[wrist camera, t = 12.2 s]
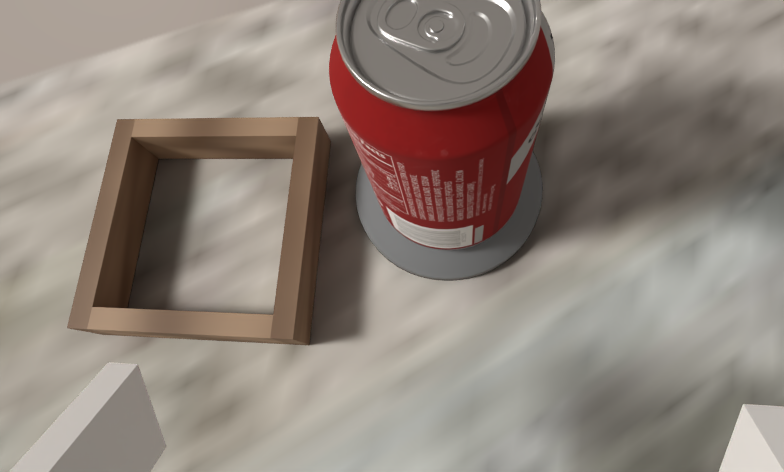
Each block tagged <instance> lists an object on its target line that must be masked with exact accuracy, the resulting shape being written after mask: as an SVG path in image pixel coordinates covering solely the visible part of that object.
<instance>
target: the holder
mask: <svg viewBox="0 0 784 472" xmlns="http://www.w3.org/2000/svg"><path fill="white" fill-rule="evenodd" d="M330 145H331V141H330V139H329V137H328V135H327V133H326V131H325V129H324V127H323V125H322V123H321V121H320V119H319V117H275V118H193V119H117V123H116V127H115V131H114V135H113V139H112V143H111V148H110V152H109V156H108V160H107V164H106V168H105V172H104V177H103V181H102V185H101V189H100V193H99V197H98V202H97V206H96V210H95V214H94V218H93V222H92V226H91V231H90V235H89V239H88V243H87V247H86V251H85V255H84V260H83V264H82V268H81V272H80V276H79V280H78V284H77V289H76V293H75V297H74V301H73V305H72V309H71V314H70V318H69V322H68V326H67V328H70V329H75V330H80V331H86V332H91V333H97V334H102V335H120V336H140V337H159V338H178V339H198V340H217V341H237V342H256V343H276V344H295V345H309V343H310V334H311V324H312V315H313V305H314V296H315V287H316V277H317V268H318V258H319V249H320V239H321V230H322V220H323V211H324V201H325V192H326V182H327V173H328V164H329V154H330ZM158 159H293V164H292V172H291V180H290V187H289V195H288V203H287V211H286V219H285V227H284V234H283V242H282V250H281V258H280V266H279V274H278V282H277V289H276V297H275V305H274V313H273V315H267V314H244V313H221V312H198V311H175V310H152V309H129V308H127V307H128V302H129V297H130V293H131V288H132V283H133V278H134V273H135V269H136V264H137V259H138V254H139V250H140V245H141V240H142V235H143V231H144V226H145V221H146V216H147V212H148V207H149V202H150V197H151V193H152V188H153V183H154V178H155V173H156V169H157V164H158Z"/></svg>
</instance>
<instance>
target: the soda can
mask: <svg viewBox="0 0 784 472" xmlns="http://www.w3.org/2000/svg"><path fill="white" fill-rule="evenodd" d="M554 64H555V48H554V42H553V37H552V33H551V30H550V27H549V25H548V22H547V20H546V18H545V16H544V14H543V12H542V11H541V4H540V0H341V1H340V4H339V7H338V12H337V17H336V36H335V39H334V42H333V45H332V49H331V54H330V62H329V76H330V84H331V88H332V93H333V96H334V99H335V101H336V104H337V106H338V109H339V111H340V113H341V116H342V118H343V120H344V123H345V125H346V127H347V130H348V132H349V134H350V137H351V139H352V141H353V144H354V146H355V148H356V151H357V153H358V155H359V158H360V160H361V162H362V165H363V167H364V169H365V172H366V174H367V176H368V179H369V181H370V183H371V186H372V188H373V190H374V193H375V195H376V197H377V200H378V202H379V204H380V207H381V209H382V211H383V213H384V215H385V217H386V218H387V220H388V221H389V223H390V224H391V225H392V226H393V228H394V229H395V230H396V231H397V232H399V233H400V234H401V235H402V236H404V237H405V238H406V239H408V240H410V241H411V242H413V243H415V244H418V245H420V246H423V247H426V248H430V249H435V250H446V251H450V250H460V249H465V248H469V247H472V246H475V245H478V244H480V243H482V242H484V241H486V240H488V239H489V238H491V237H492V236H494V235H495V234H496V233H497V232H499V231H500V230H501V229H502V228H503V227H504V226H505V224H506V223H507V222H508V221H509V219H510V218H511V216H512V215H513V213H514V211H515V209H516V207H517V204H518V201H519V198H520V195H521V191H522V187H523V184H524V180H525V176H526V173H527V169H528V165H529V162H530V158H531V155H532V151H533V147H534V144H535V140H536V136H537V133H538V129H539V125H540V122H541V118H542V115H543V111H544V107H545V104H546V100H547V96H548V93H549V89H550V85H551V82H552V77H553V72H554Z"/></svg>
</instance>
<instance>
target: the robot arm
mask: <svg viewBox="0 0 784 472" xmlns="http://www.w3.org/2000/svg"><path fill="white" fill-rule="evenodd" d="M165 448H166V444H165V441H164V438H163V435H162V432H161V429H160V426H159V423H158V421H157V418H156V415H155V412H154V409H153V406H152V403H151V400H150V398H149V395H148V392H147V389H146V386H145V383H144V380H143V377H142V375H141V372H140V369H139V366H138V364H127V363H112V362H108V363H107V364H106V365H105V366H104V367H103V369H102V370H101V371H100V372H99V373H98V374H97V375H96V376H95V377H94V378H93V380H92V381H91V382H90V383H89V384H88V385H87V386H86V387H85V388H84V389H83V391H82V392H81V393H80V394H79V395H78V396H77V397H76V398H75V399H74V400H73V402H72V403H71V404H70V405H69V406H68V407H67V408H66V409H65V410H64V412H63V413H62V414H61V415H60V416H59V417H58V418H57V419H56V420H55V421H54V423H53V424H52V425H51V426H50V427H49V428H48V429H47V430H46V431H45V432H44V434H43V435H42V436H41V437H40V438H39V439H38V440H37V441H36V442H35V444H34V445H33V446H32V447H31V448H30V449H29V450H28V451H27V452H26V453H25V455H24V456H23V457H22V458H21V459H20V460H19V461H18V462H17V463H16V464H15V466H14V467H13V468H12V469H11V470H10V471H9V472H150V471H151V470H152V468H153V467H154V465H155V463H156V462H157V460H158V459H159V457H160V456H161V454H162V452H163V451H164V449H165ZM719 472H784V407H782V406H767V405H752V404H743V406H742V409H741V412H740V414H739V417H738V420H737V423H736V425H735V428H734V431H733V434H732V436H731V439H730V442H729V445H728V447H727V450H726V453H725V456H724V458H723V461H722V464H721V467H720V469H719Z"/></svg>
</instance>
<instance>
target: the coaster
mask: <svg viewBox="0 0 784 472" xmlns="http://www.w3.org/2000/svg"><path fill="white" fill-rule="evenodd" d="M542 190H543V186H542V176H541V172H540V168H539V164H538V162H537V159H536V157H535V154H534V153H533V151H532V155H531V158H530V162H529V165H528V169H527V173H526V176H525V180H524V184H523V187H522V191H521V195H520V198H519V201H518V204H517V207H516V209H515V211H514V213H513V215H512V216H511V218H510V219H509V221H508V222H507V223H506V224H505V226H504V227H503V228H502V229H501V230H500V231H499V232H497V233H496V234H495V235H494V236H492V237H491V238H489V239H488V240H486V241H484V242H482V243H480V244H478V245H475V246H472V247H469V248H465V249H460V250H450V251H446V250H435V249H430V248H426V247H423V246H420V245H418V244H415V243H413V242H411V241H410V240H408V239H406V238H405V237H404V236H402V235H401V234H400V233H399V232H397V231H396V230H395V229H394V228H393V226H392V225H391V224H390V223H389V221H388V220H387V218H386V217H385V215H384V213H383V211H382V209H381V207H380V204H379V202H378V200H377V197H376V195H375V193H374V190H373V188H372V186H371V183H370V181H369V179H368V176H367V174H366V172H365V169H364V167H363V165H362V163H361V166H360V169H359V172H358V176H357V182H356V204H357V210H358V214H359V218H360V220H361V223H362V225H363V228H364V230H365V232H366V233H367V235H368V237H369V238H370V240H371V242H372V243H373V244H374V246H375V247H376V248H377V249H378V251H379V252H380V253H381V254H382V255H383V256H384V257H386V258H387V259H388V260H389V261H390V262H392V263H393V264H395V265H396V266H397V267H399V268H401V269H403V270H405V271H407V272H409V273H411V274H414V275H417V276H420V277H424V278H428V279H434V280H444V281H446V280H461V279H467V278H472V277H475V276H478V275H482V274H484V273H486V272H489V271H491V270H493V269H495V268H496V267H498V266H500V265H501V264H503V263H504V262H506V261H507V260H508V259H509V258H511V257H512V256H513V255H514V254H515V253H516V252H517V251H518V250H519V249H520V248H521V247H522V245H523V244H524V242H525V241H526V240H527V238H528V237H529V235H530V233H531V231H532V229H533V227H534V225H535V223H536V220H537V217H538V214H539V212H540V207H541V202H542Z"/></svg>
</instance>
